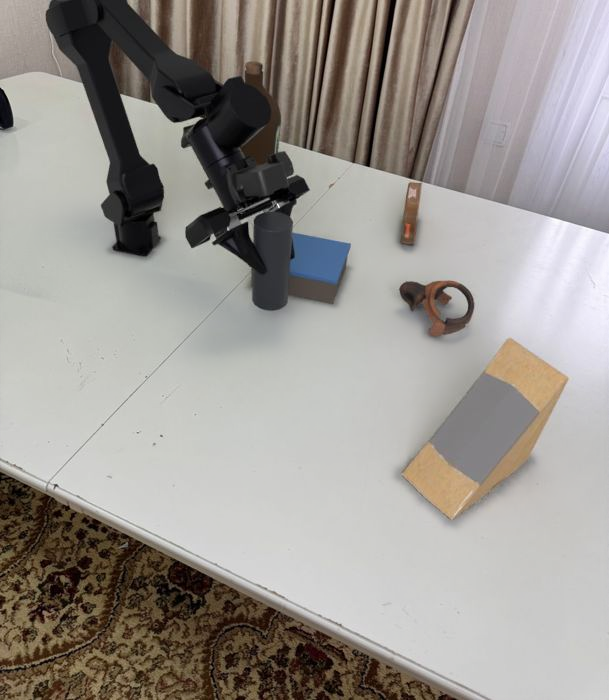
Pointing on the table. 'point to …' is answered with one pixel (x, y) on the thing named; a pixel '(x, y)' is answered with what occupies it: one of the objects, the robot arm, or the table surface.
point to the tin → (411, 213)
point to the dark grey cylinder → (272, 260)
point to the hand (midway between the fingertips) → (278, 266)
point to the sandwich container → (488, 430)
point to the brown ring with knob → (427, 294)
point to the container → (316, 267)
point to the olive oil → (270, 134)
